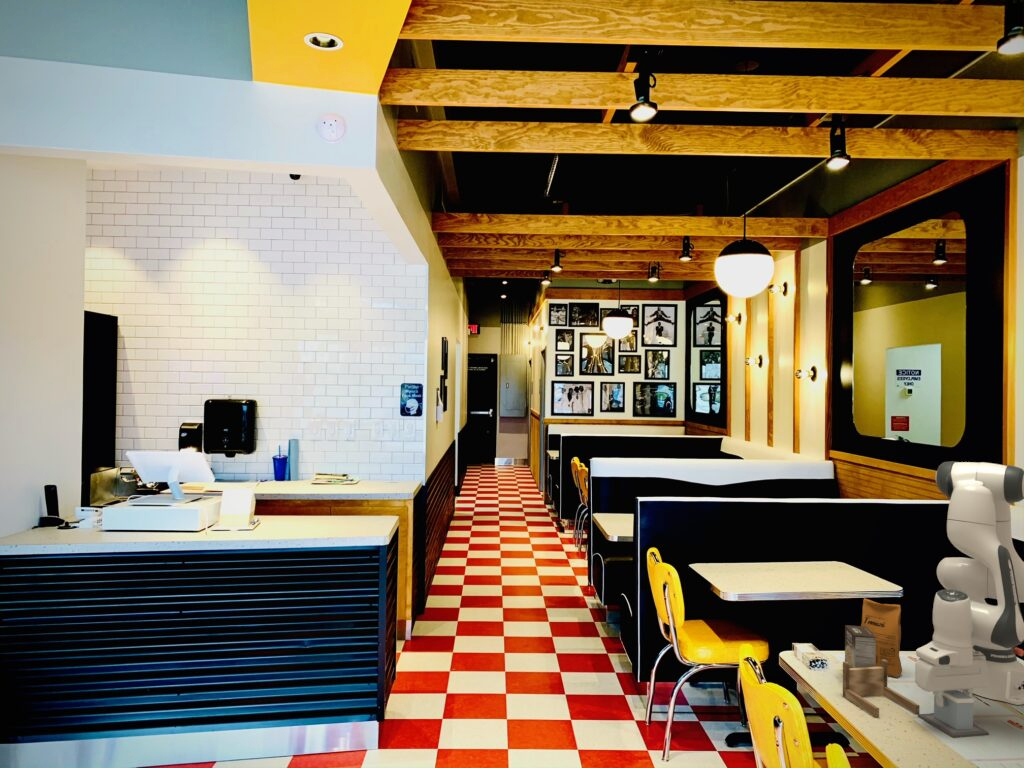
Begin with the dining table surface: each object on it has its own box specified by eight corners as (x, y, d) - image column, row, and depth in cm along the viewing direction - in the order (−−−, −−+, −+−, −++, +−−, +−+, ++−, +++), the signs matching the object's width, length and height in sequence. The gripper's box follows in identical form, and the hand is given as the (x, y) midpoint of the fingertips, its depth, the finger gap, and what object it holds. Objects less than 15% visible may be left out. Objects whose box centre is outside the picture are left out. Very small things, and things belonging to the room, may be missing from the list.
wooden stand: (884, 693, 183) (884, 659, 184) (919, 714, 171) (919, 677, 171) (842, 696, 181) (842, 661, 181) (875, 717, 168) (875, 680, 169)
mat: (951, 713, 172) (951, 711, 172) (989, 734, 161) (989, 732, 161) (917, 716, 170) (917, 714, 170) (953, 737, 159) (953, 735, 159)
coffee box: (843, 675, 195) (844, 624, 196) (865, 677, 194) (866, 626, 195) (853, 688, 186) (853, 634, 187) (876, 690, 185) (877, 636, 186)
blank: (949, 715, 169) (950, 686, 170) (973, 729, 162) (973, 698, 163) (933, 716, 168) (934, 686, 169) (956, 729, 161) (957, 698, 162)
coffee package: (861, 659, 209) (862, 594, 209) (904, 670, 200) (904, 602, 201) (854, 668, 201) (854, 600, 202) (898, 680, 193) (898, 609, 194)
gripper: (974, 646, 171) (974, 697, 171) (910, 650, 167) (910, 701, 167) (995, 655, 165) (996, 708, 164) (930, 659, 161) (930, 713, 161)
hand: (952, 704), depth 166 cm, fingers open, 6 cm apart
